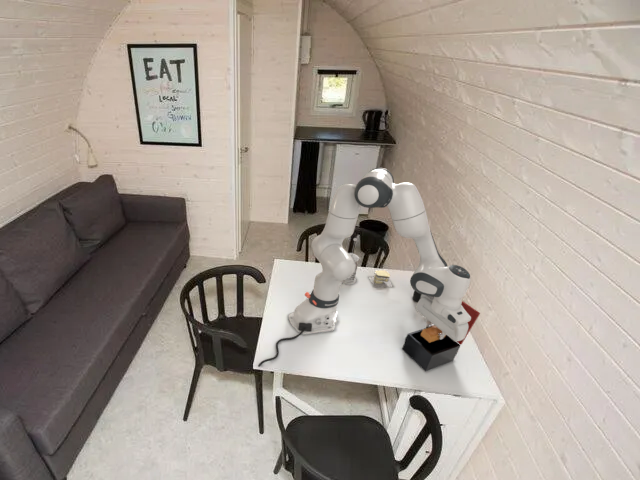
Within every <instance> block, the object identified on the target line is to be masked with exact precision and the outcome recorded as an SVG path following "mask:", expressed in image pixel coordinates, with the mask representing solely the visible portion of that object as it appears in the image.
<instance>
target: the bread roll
mask: <svg viewBox="0 0 640 480" xmlns="http://www.w3.org/2000/svg"><path fill="white" fill-rule="evenodd" d="M422 329H423V330H422V333H421V336H422V337H423V338H425V339H426V340H427V341H428V342H429V343H430V342H433V341H436V340H439V338H438V337H437V336H438V334H440V333H442V331H441V330H440V329H439V328H437V327H436V326H433V325H432V327H429V328H426V329H424V328H422ZM445 336H446V335H445ZM445 336H444V337H445Z"/></svg>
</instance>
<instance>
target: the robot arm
mask: <svg viewBox="0 0 640 480" xmlns="http://www.w3.org/2000/svg"><path fill="white" fill-rule="evenodd" d="M424 203H425V202H424V200H423V198H422V196H421V193H420V191H419V190H418V188H417V186H416V185H415V183H412V182H400V183H395V179H394V176H393V174H392V172H391V171H390V170H389V169H387V168H383V167H376V168H372V169H370V170H369V171H368V172H366V173H365V174H364V175H363V176H362V177H361V178H360V180H359V181H358V182H357V183H356V184H352V183H344V184H341V185H339V186H338V187H337V189H336V190H335V192H334V195H333V197H332V200H331V203H330V205H329V210H328V212H327V213H328V214H327V217H326V221H325V225H324V228H323V230H322V232H321V233H320V234H318V235H316V236H315V237H314V238H313V239H312V241H311V243H310V248H311V251H312V253H313V255H314V256H313V257H314V258H316V260H317V261H318V262H319V263H320V265H321V268H322V269H321V271H320V272H319V273H317V274H316V276H315V278H314V284H313V289H312V290H311V292H309V291H305V293H304V296H305V297H306V299H305V300H304V301H302V302H301V303H300V304H298V305H296V307H295V309H294V311H293V312H290V313H289V314H288V321H289V323H290V325H291V326H292V327H293V329H294V330H295V331H297V333H298V334H296V335H295V336H292V337H283V338H280V339H279V340H277V341H276V343H275V349H276V350H275V351H276V354H275V356H273V357H270V358H266V359H264V360H262V361H260V362H259V364H257V367H258V368H260V367H261V366H262V365H263V364H265V363H266V362H270V361H271V362H272V361H274V360H276V359H277V358H278V357H279V353H280V350H279V344H280V343H281V342H283V341H291V340H295V339H297V338H299V337H300V336H301V335H310V334H319V333H326V332H333V331H335V329H336V325H337V323H338V311H337V309H338V304H339V300H340V290H341V286H342V284H343V283H342V281H343V280H345V279H348V278H349V277H351V276H352V275H353V273H354V271H355V268H356V265H355V263H354V261H353V259H352V257H351V255H350V254H349V253H350V252H348V251H347V250H346V249H345V248H344V246H343V243H344V241H345V239H348V238H350V237H352V235H353V234H354V232H355V229H356V225H357V222H358V218H359V214H360V212H361V208H362V207H363V208H367V209H374V208H377V209H378V208H380V209H382V208H383V209H384V208H386V207H387V209H388V211H389V215H390V218H391V221H392V225H393V227H394V230H395V232H396V233H397V235H398V236H400V237H402V238H405V239H412V240H413V242H414V243H415V244H414V245H415V247H416V249H417V252H418V255H419V263H418V265H417V267H416V269H415V270H414V271H413V274H412V276H411V277H410V279H409V280H410V281H409V284H410V286H411V288H412V289H413V291H414V290H415V291H416V292H418V293H420V294H422V295H421V299H420V300H419V301H418V302H416V303H417V304H416V305H415V311H416V312H417V313H418V314H420V315H421V316H422V317H423V318H424V322H425V327H424V328H429V327H432V326H433V325H435V326H436V327H437V328H439V329H440V330H441V331H442V333H440V334H438V336H437V337H438V338H439V339H440V340H441V339H443V338H444V336H445V335H447V336H449V337H450V338H451V339H452V340H454V341H455V342H457V341H461V340H463V339H464V338H465V336H466V334H467V331H468V327H469V325H468V323H467V322H469V321H470V320H471V317H470V315H469V314H468V313H467V312H466V311H465V309H464V308H463V306H462V305H461V304H462V301H463V298H464V297H465V296H466V295H467V292H468V289H469V287H470V283H471V274H470V272H469V271H468V270H467V269H466V268H465V267H463V266H460V265H458V264H449V265H448V264H447V262H446V260H445V259H444V258H443V256H442V255H441V254H440V252H439V250H438V248H437V245H436V242H435V239H434V236H433V233H432V230H431V227H430V224H429V218H428V213H427V209H426V207H425V204H424ZM466 337H467V336H466ZM465 339H466V338H465ZM457 343H458V342H457Z"/></svg>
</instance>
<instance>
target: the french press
mask: <svg viewBox="0 0 640 480" xmlns="http://www.w3.org/2000/svg"><path fill="white" fill-rule="evenodd" d="M352 240H353V241H354V242H353V244H355V242H357V241H358V239H357V238H356V237H354V238H353V239H352ZM354 247H355V245H353V247H352V249H354ZM353 251H354V250H352V252H348V253H349V254H350V255H351V257H352V259H353V261H354V263H355V265H356V268H355V271H354V273H353V275H352V276H351V277H349V278H348V279H345V280H343V281H342V283H341V284H343V285H344V284H345V285H354V284H355V283H356V282H357V279H356V274H357V270H358V264H357V262H359V261H360V256H359V255H358V254H356V253H353Z"/></svg>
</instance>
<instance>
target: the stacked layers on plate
mask: <svg viewBox="0 0 640 480" xmlns="http://www.w3.org/2000/svg"><path fill="white" fill-rule="evenodd" d="M390 276H391V273H389V272H388V271H387V270H384V269H381V270H380V269H379V270H374V275H373V276H369V277H368V279H369V281H370V282H371V284H372V286H373V288H393V287H394V286H393V285H392V283H391V281H390V278H391V277H390Z"/></svg>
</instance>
